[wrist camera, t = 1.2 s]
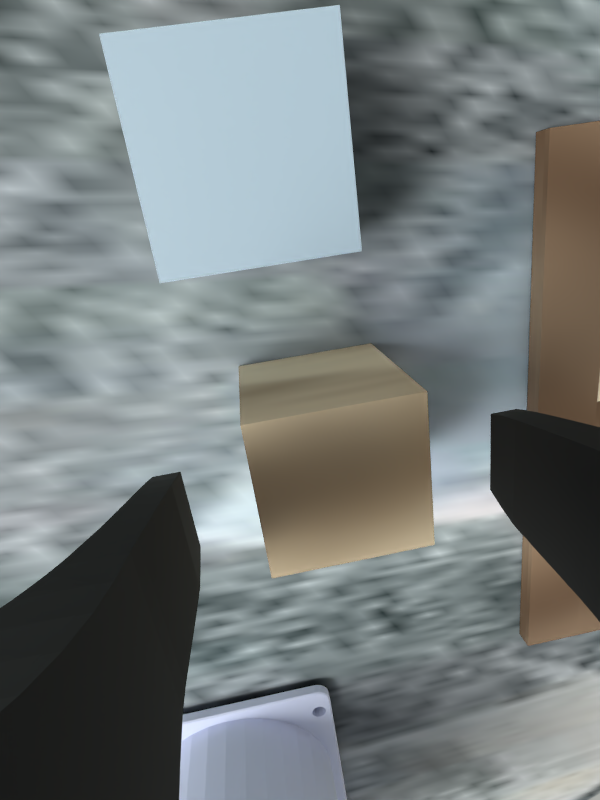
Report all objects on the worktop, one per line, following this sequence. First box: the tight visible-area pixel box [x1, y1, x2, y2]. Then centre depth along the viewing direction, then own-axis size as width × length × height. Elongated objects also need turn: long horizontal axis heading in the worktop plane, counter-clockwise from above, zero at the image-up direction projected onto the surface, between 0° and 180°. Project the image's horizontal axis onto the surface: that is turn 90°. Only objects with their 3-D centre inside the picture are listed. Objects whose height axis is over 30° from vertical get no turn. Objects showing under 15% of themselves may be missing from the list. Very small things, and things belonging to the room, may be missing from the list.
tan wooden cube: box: [239, 343, 435, 578], centre depth 13 cm, size 4×4×4 cm
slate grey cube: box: [99, 5, 362, 283], centre depth 10 cm, size 4×4×4 cm
